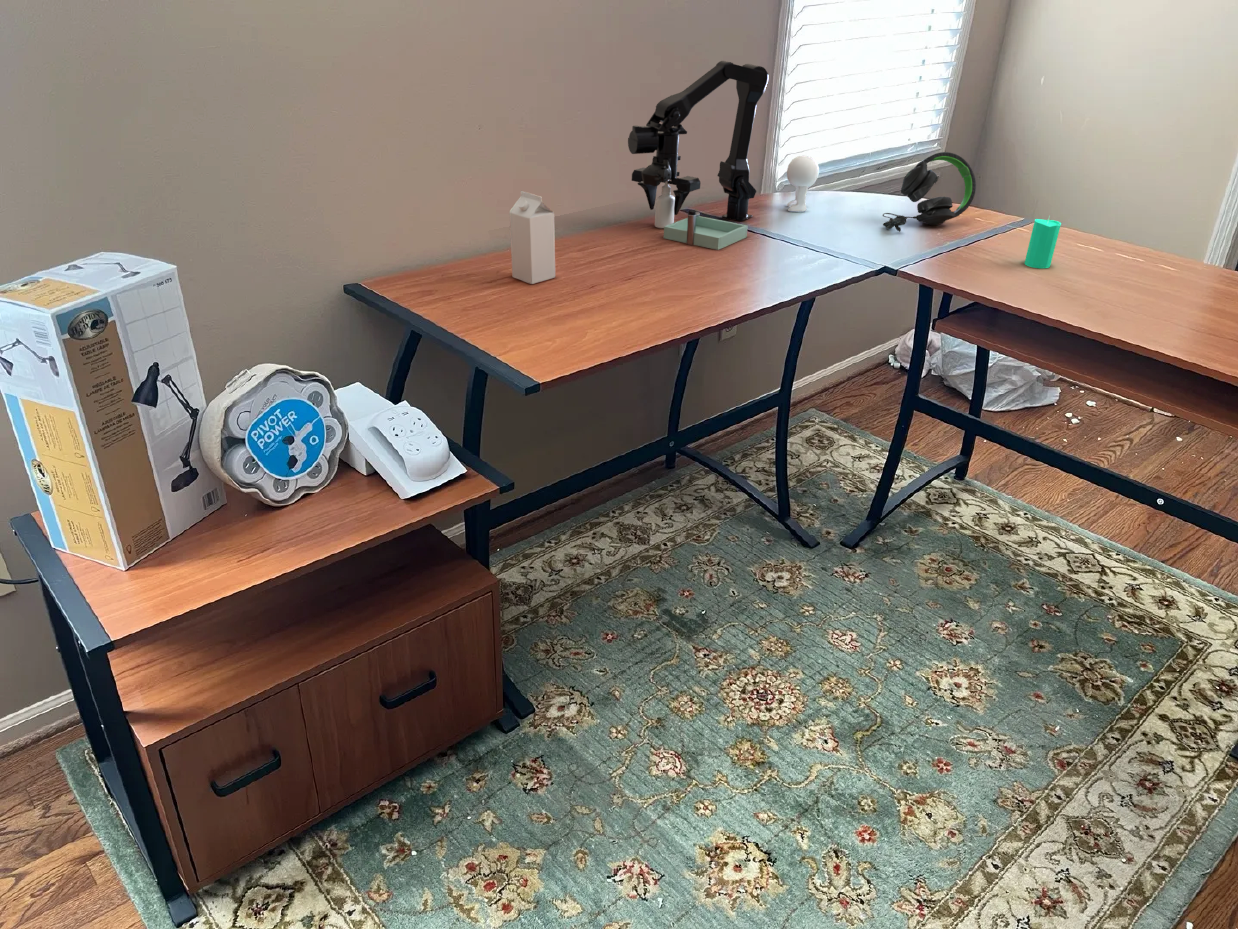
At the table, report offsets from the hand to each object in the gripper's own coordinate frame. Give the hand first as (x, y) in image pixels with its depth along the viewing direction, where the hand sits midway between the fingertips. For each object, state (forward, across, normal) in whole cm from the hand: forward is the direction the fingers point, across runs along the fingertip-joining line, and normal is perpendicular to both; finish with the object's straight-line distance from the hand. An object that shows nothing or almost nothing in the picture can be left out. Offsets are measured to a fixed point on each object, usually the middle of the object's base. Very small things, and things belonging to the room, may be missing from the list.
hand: (663, 212), depth 246 cm
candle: (+2, +90, +30) cm, 95 cm away
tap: (+4, +15, -9) cm, 18 cm away
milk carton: (+5, +2, -55) cm, 55 cm away
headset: (+2, +56, +47) cm, 73 cm away
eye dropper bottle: (+4, 0, 0) cm, 4 cm away
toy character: (+3, +20, +40) cm, 45 cm away
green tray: (+4, +15, -2) cm, 15 cm away
